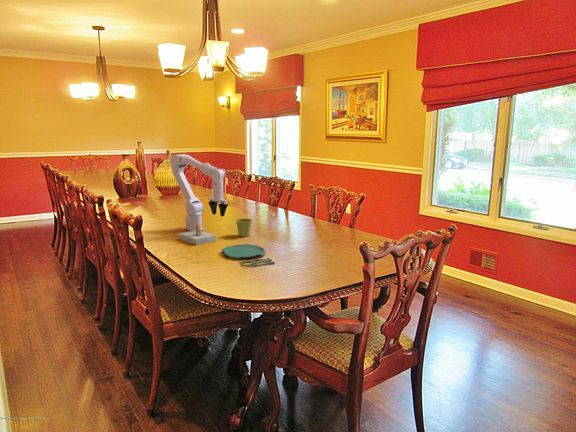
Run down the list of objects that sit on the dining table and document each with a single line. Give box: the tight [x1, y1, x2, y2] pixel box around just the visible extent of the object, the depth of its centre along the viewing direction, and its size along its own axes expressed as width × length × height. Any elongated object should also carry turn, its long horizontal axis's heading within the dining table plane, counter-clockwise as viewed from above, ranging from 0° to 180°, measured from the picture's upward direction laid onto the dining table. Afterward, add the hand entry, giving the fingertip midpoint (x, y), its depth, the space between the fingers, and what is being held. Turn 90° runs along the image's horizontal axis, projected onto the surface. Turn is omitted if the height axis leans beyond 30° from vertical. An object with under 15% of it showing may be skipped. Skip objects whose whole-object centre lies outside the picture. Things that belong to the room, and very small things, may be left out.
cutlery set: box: [221, 243, 276, 268], centre depth 196 cm, size 20×30×2 cm, turn 24°
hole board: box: [178, 230, 217, 246], centre depth 223 cm, size 16×12×3 cm
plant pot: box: [234, 218, 254, 238], centre depth 233 cm, size 9×9×9 cm
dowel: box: [196, 224, 203, 236], centre depth 222 cm, size 3×3×8 cm
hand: (218, 215), depth 238 cm, fingers open, 7 cm apart
